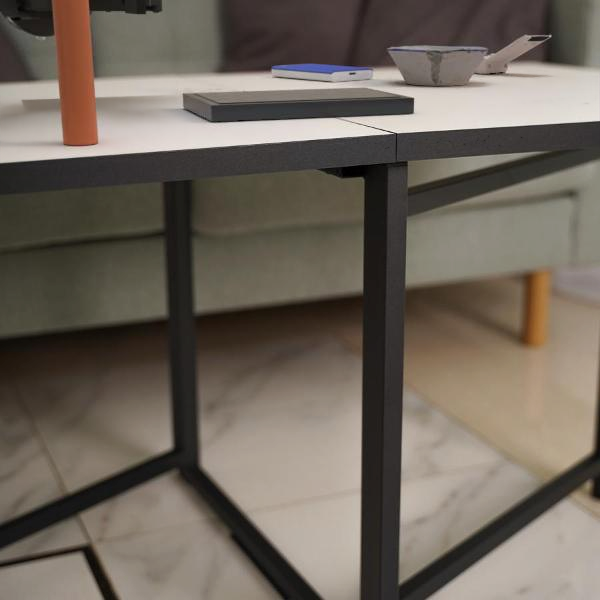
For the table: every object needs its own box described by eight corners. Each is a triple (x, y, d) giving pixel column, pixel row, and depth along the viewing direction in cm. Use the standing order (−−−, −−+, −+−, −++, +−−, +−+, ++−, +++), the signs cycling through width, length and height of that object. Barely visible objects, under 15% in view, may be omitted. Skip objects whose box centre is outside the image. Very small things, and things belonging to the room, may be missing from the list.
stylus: (65, 146, 68) (51, -25, 64) (61, 141, 70) (48, -24, 66) (100, 144, 69) (88, -25, 65) (96, 140, 71) (84, -24, 67)
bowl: (504, 82, 121) (507, 45, 119) (451, 89, 112) (453, 49, 110) (423, 78, 129) (425, 42, 127) (367, 84, 120) (368, 46, 118)
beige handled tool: (528, 34, 127) (403, 29, 146) (524, 78, 129) (401, 67, 148) (555, 34, 131) (430, 29, 149) (551, 76, 133) (428, 66, 151)
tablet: (211, 122, 81) (211, 104, 81) (183, 108, 92) (182, 92, 92) (414, 113, 88) (414, 97, 87) (364, 101, 98) (365, 86, 98)
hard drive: (271, 65, 131) (331, 70, 122) (312, 63, 136) (373, 67, 127) (271, 77, 131) (331, 82, 122) (312, 74, 136) (373, 79, 128)
